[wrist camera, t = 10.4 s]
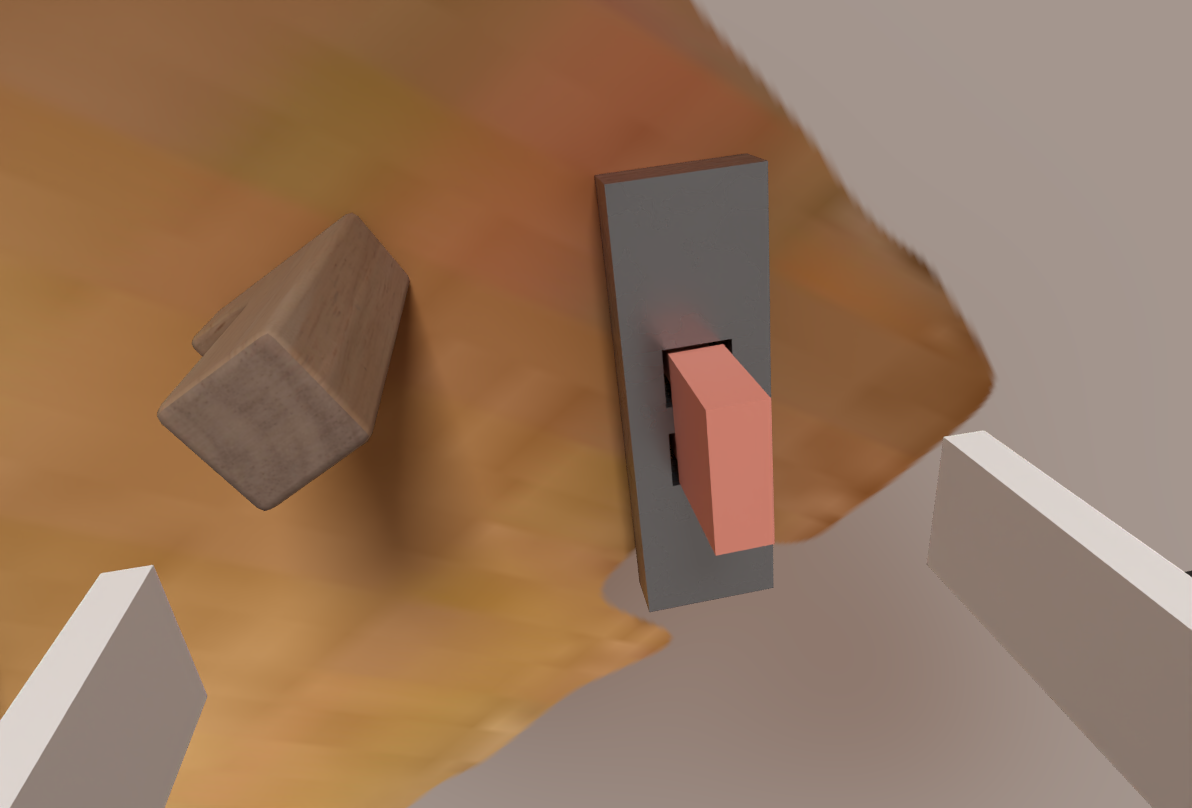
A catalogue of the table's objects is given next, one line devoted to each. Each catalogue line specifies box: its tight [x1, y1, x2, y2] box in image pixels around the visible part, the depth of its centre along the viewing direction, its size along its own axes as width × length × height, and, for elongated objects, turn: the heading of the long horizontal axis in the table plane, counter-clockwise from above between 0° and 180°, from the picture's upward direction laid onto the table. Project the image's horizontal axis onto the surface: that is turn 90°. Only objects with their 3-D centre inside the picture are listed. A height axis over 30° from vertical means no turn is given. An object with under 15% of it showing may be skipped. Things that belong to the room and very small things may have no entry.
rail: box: [595, 154, 773, 612], centre depth 43 cm, size 8×26×3 cm, turn 7°
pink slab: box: [662, 343, 775, 556], centre depth 40 cm, size 3×8×10 cm, turn 8°
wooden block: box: [157, 213, 410, 511], centre depth 31 cm, size 9×4×18 cm, turn 124°
